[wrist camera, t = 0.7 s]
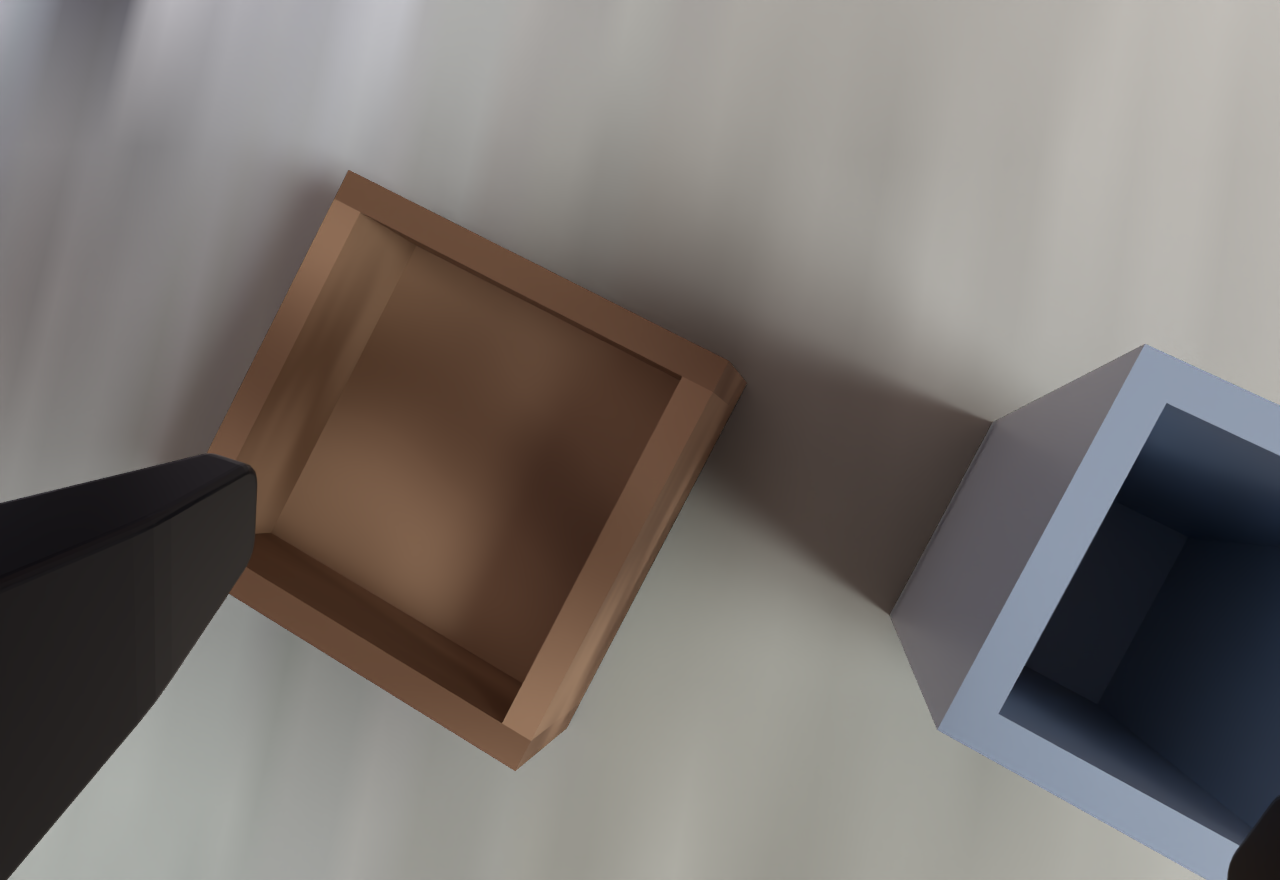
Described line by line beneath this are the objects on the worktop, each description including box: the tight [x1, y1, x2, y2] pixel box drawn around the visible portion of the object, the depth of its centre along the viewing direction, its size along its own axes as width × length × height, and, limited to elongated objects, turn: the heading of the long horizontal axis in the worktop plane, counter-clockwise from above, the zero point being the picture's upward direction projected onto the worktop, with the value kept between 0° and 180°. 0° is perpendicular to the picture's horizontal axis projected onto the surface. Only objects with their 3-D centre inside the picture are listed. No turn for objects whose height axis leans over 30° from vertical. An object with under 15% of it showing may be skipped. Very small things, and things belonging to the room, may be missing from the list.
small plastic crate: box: [890, 344, 1280, 880], centre depth 17 cm, size 5×5×12 cm
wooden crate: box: [207, 170, 747, 771], centre depth 24 cm, size 9×9×4 cm
